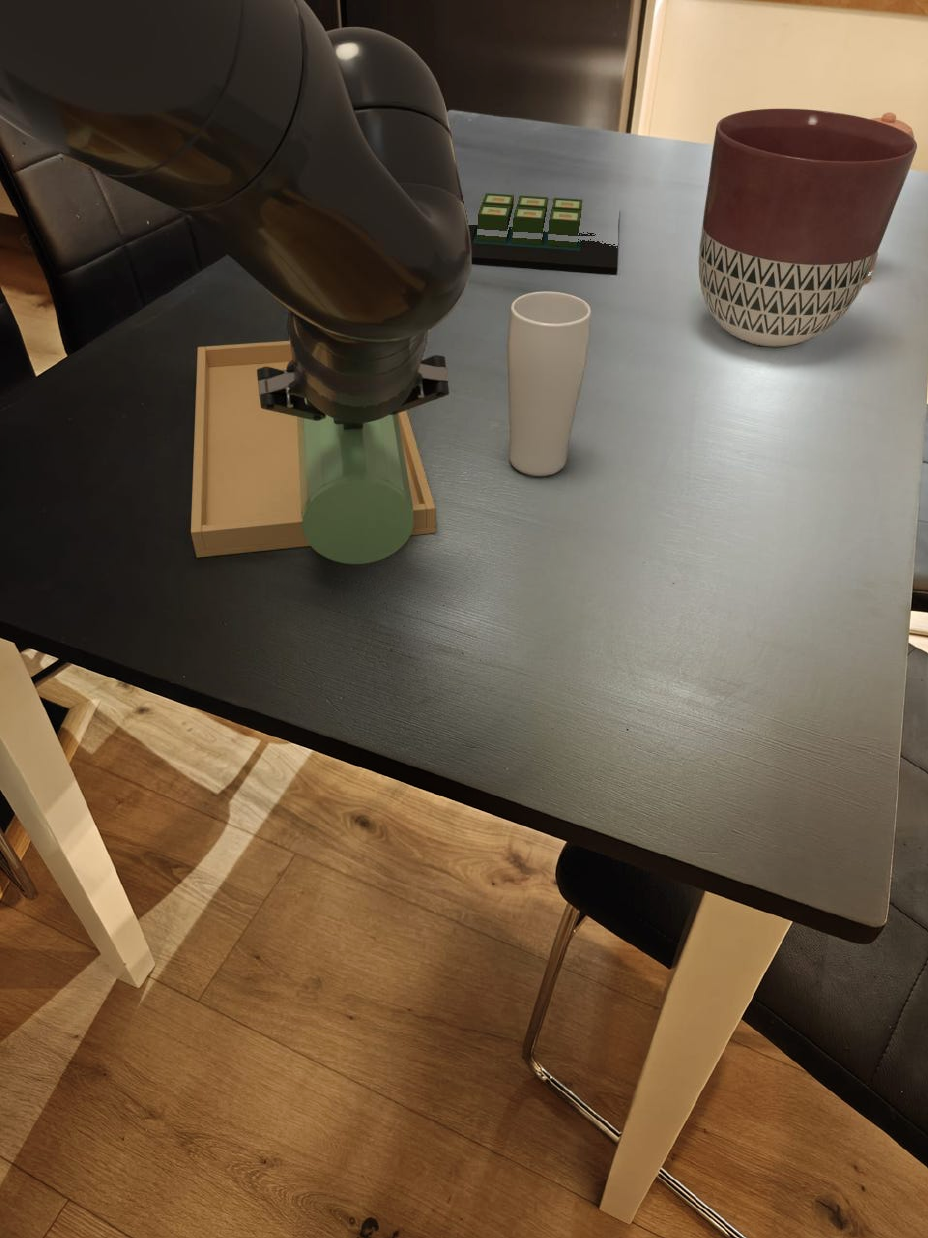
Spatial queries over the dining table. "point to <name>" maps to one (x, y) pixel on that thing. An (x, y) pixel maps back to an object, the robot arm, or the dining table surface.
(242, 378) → the tray
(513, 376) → the drinking glass
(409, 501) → the green cup
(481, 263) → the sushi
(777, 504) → the dining table surface
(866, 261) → the planter
